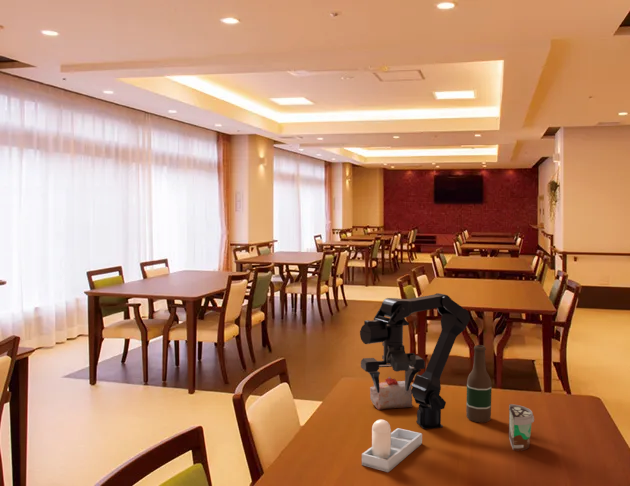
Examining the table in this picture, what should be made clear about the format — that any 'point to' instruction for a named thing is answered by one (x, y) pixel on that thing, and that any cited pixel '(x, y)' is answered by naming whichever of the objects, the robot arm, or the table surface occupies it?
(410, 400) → the food item
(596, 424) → the table surface
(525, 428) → the food container
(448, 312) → the robot arm
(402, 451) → the white compartment tray
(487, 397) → the beer bottle
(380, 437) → the cream tall rounded piece
